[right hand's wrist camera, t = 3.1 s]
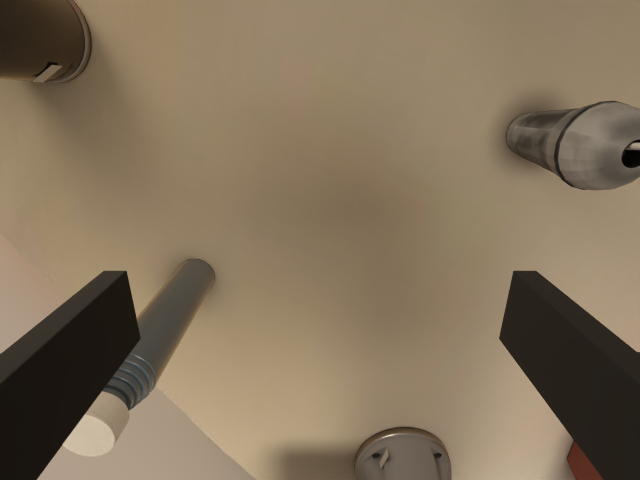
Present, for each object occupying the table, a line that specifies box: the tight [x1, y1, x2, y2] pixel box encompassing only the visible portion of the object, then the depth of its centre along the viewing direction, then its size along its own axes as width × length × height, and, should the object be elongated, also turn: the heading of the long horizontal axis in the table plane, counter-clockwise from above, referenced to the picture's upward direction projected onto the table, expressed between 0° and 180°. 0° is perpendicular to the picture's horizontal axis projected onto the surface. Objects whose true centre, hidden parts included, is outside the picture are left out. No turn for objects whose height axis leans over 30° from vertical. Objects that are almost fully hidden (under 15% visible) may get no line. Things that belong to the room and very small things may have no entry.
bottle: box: [103, 259, 215, 410], centre depth 37 cm, size 5×5×24 cm
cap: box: [63, 391, 129, 457], centre depth 26 cm, size 4×4×2 cm
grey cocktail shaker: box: [506, 101, 640, 190], centre depth 32 cm, size 7×7×20 cm
